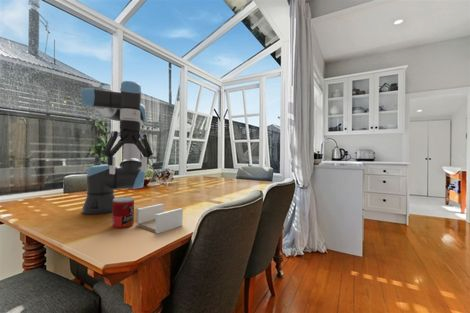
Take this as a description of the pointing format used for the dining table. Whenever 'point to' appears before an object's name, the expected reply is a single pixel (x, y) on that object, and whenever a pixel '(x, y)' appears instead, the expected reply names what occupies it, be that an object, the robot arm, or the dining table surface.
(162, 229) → the holder
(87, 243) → the dining table surface
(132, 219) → the canned food
